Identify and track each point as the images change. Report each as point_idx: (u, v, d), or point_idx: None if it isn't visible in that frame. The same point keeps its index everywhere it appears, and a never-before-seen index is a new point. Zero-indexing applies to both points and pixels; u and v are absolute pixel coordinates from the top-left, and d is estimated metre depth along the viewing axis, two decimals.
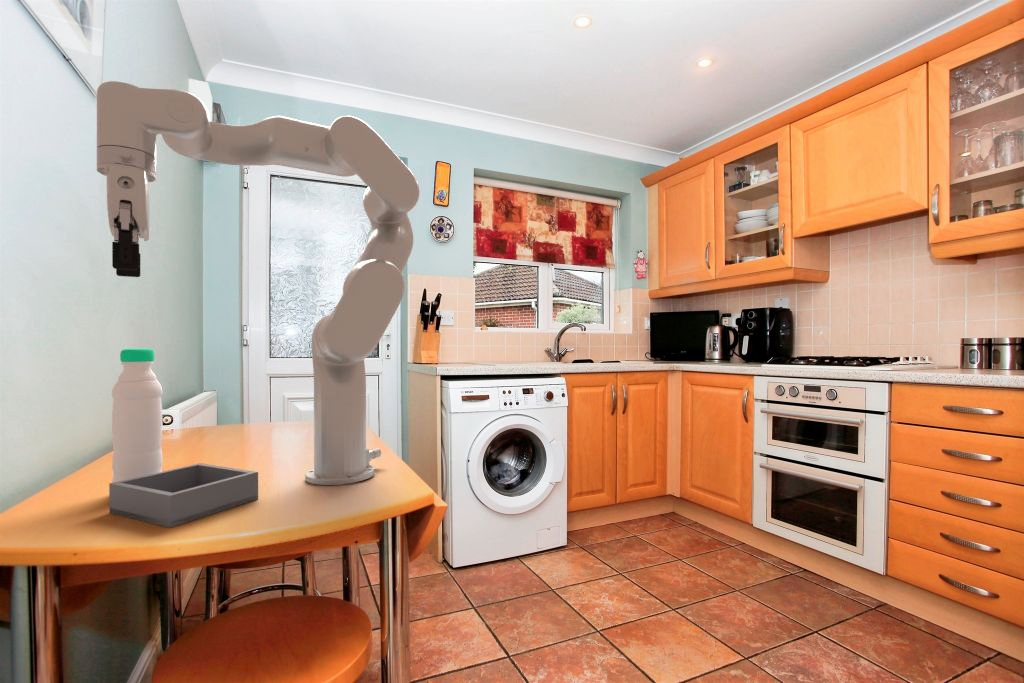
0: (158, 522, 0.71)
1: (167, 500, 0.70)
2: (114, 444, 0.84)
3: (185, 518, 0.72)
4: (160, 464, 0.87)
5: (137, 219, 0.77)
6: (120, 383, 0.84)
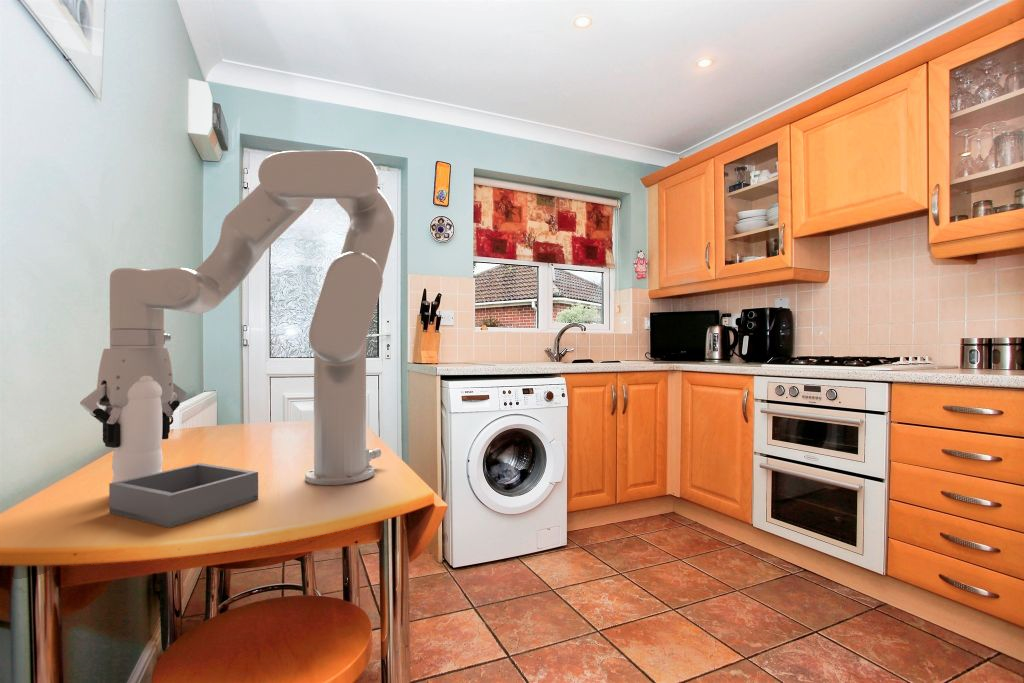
0: (158, 522, 0.71)
1: (167, 500, 0.70)
2: None
3: (185, 518, 0.72)
4: (160, 464, 0.87)
5: None
6: None
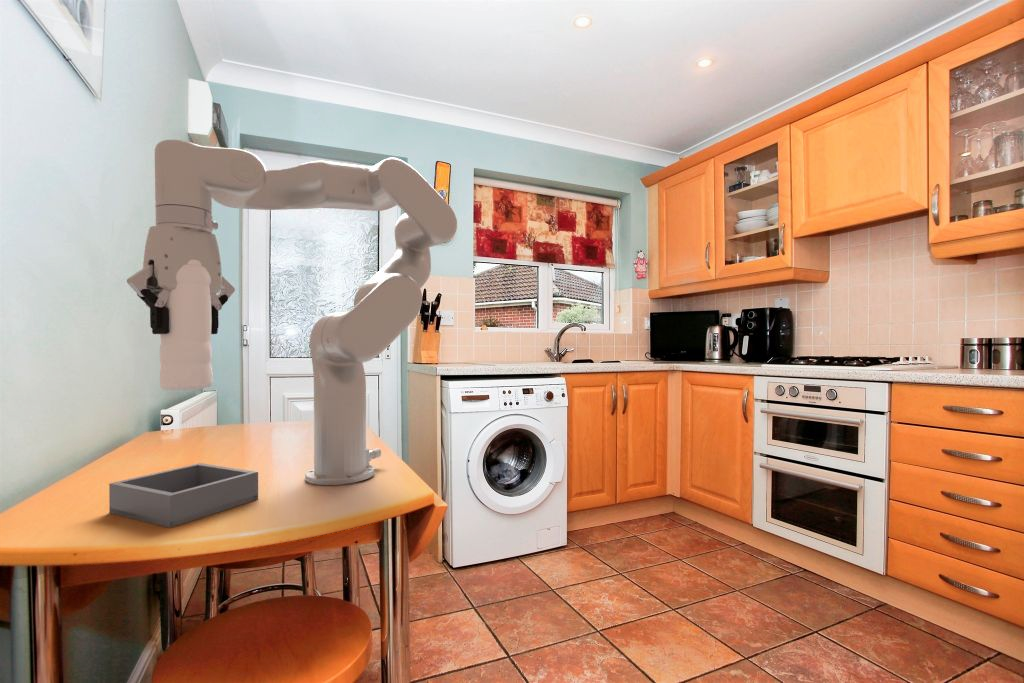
0: (158, 522, 0.71)
1: (167, 500, 0.70)
2: None
3: (185, 518, 0.72)
4: (210, 358, 0.81)
5: None
6: None
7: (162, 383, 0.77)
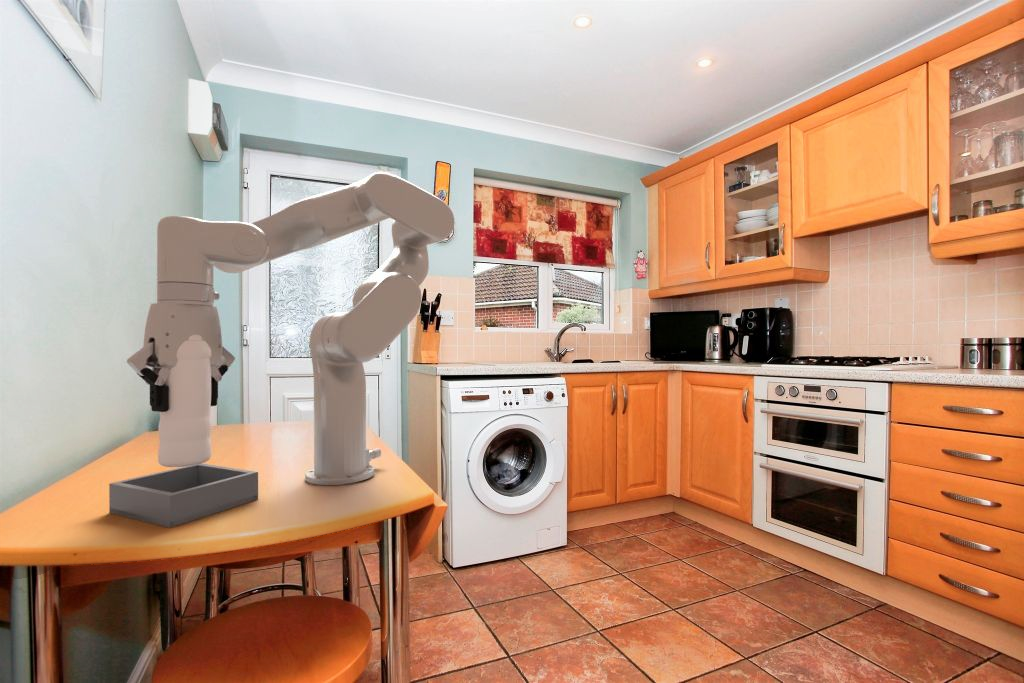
0: (158, 522, 0.71)
1: (167, 500, 0.70)
2: None
3: (185, 518, 0.72)
4: (209, 432, 0.80)
5: None
6: None
7: (160, 460, 0.76)
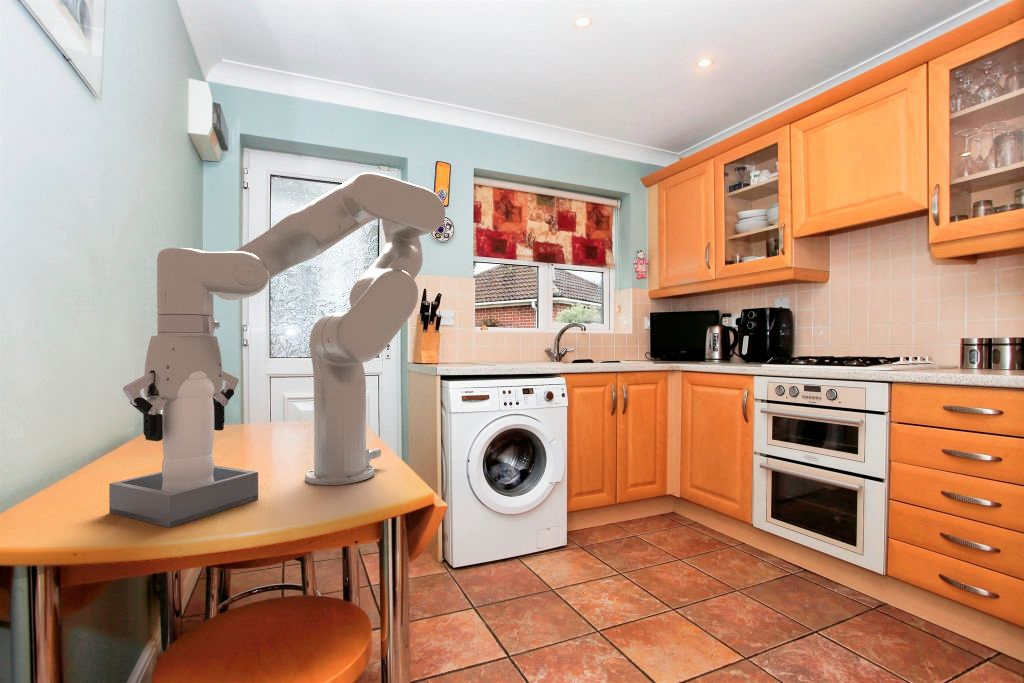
0: (158, 522, 0.71)
1: (167, 500, 0.70)
2: (164, 447, 0.77)
3: (185, 518, 0.72)
4: (212, 469, 0.80)
5: None
6: None
7: None
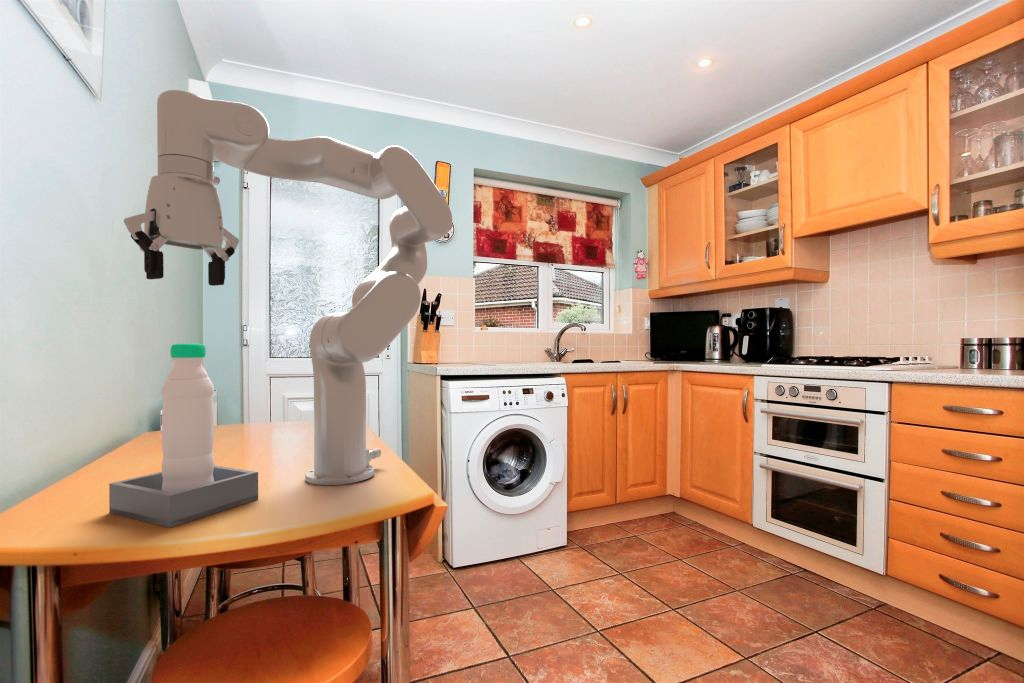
0: (158, 522, 0.71)
1: (167, 500, 0.70)
2: (164, 447, 0.77)
3: (185, 518, 0.72)
4: (212, 469, 0.80)
5: None
6: (172, 380, 0.77)
7: None
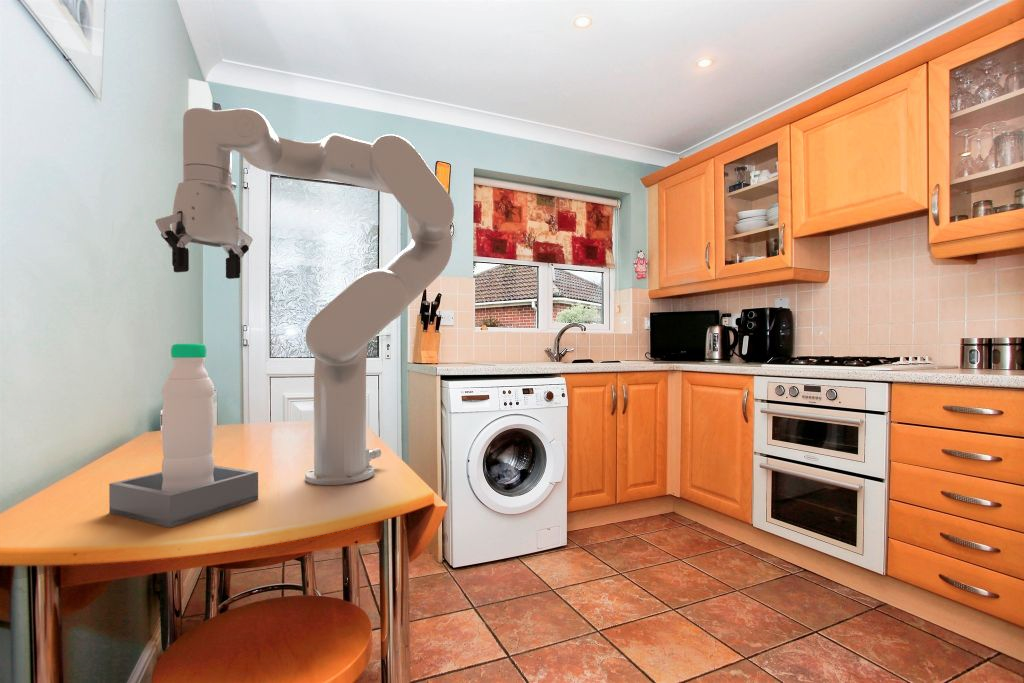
0: (158, 522, 0.71)
1: (167, 500, 0.70)
2: (164, 447, 0.77)
3: (185, 518, 0.72)
4: (212, 469, 0.80)
5: None
6: (172, 380, 0.77)
7: None
